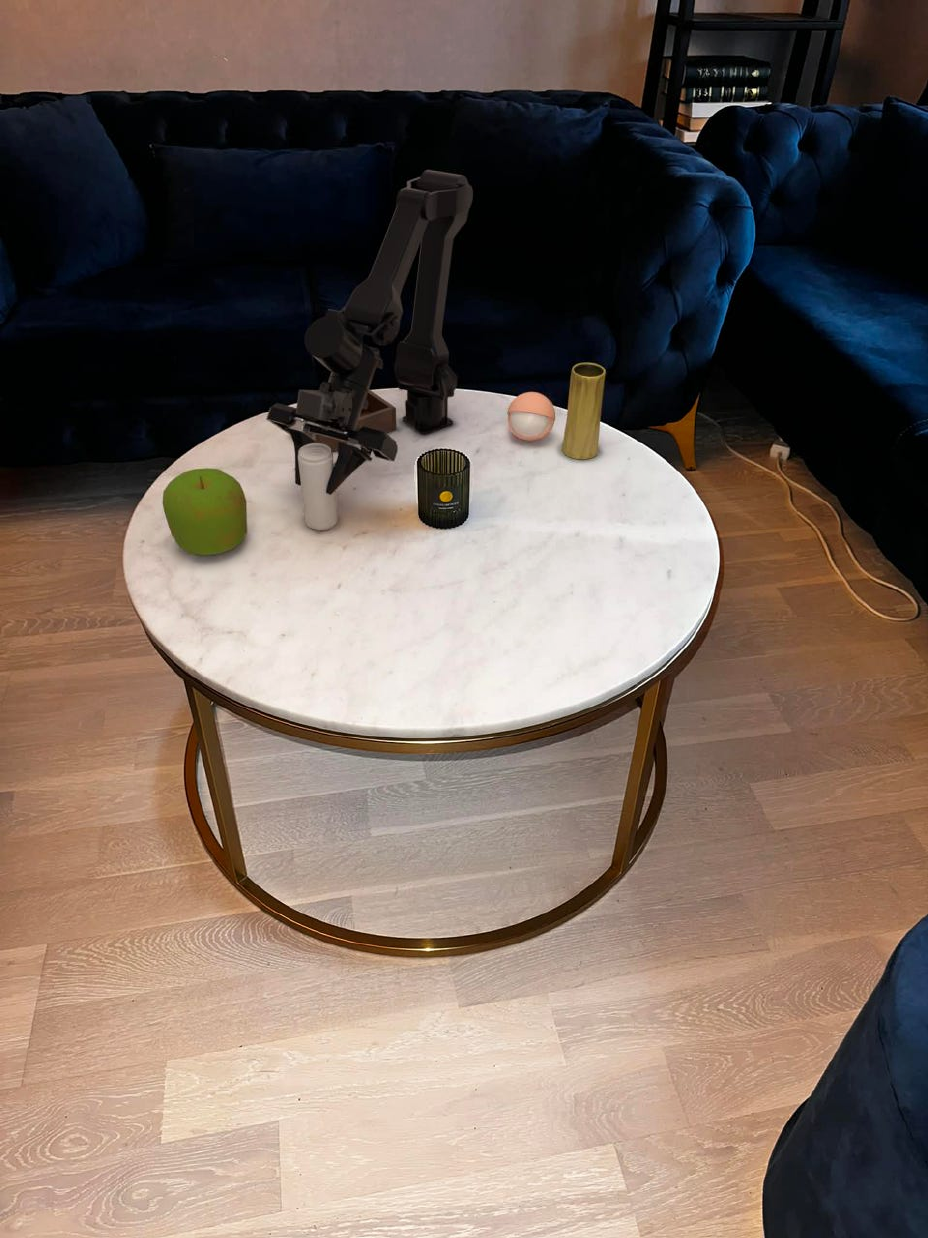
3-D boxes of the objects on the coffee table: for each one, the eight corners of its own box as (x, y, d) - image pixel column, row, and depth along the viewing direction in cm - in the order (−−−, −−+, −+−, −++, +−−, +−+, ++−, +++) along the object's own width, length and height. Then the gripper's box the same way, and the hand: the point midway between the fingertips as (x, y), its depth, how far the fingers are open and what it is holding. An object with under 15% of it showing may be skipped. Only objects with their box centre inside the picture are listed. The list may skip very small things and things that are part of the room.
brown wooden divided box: (370, 410, 164) (369, 389, 161) (396, 429, 159) (395, 407, 156) (292, 436, 156) (290, 414, 154) (317, 457, 152) (315, 434, 149)
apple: (156, 548, 132) (140, 482, 125) (209, 511, 139) (196, 447, 132) (216, 574, 128) (202, 507, 121) (267, 535, 135) (258, 470, 128)
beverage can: (305, 513, 139) (298, 442, 132) (338, 512, 140) (332, 441, 132) (304, 532, 136) (296, 460, 128) (338, 531, 136) (332, 459, 128)
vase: (556, 455, 154) (564, 374, 144) (567, 437, 158) (575, 358, 149) (592, 463, 152) (602, 381, 143) (602, 445, 156) (613, 365, 147)
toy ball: (501, 444, 156) (503, 401, 151) (511, 422, 161) (514, 380, 156) (548, 452, 154) (552, 408, 149) (557, 430, 160) (561, 387, 155)
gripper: (265, 349, 128) (228, 456, 128) (384, 378, 122) (345, 491, 122) (302, 378, 139) (268, 478, 138) (414, 407, 133) (378, 511, 133)
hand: (312, 489), depth 133 cm, fingers closed on beverage can, 5 cm apart
